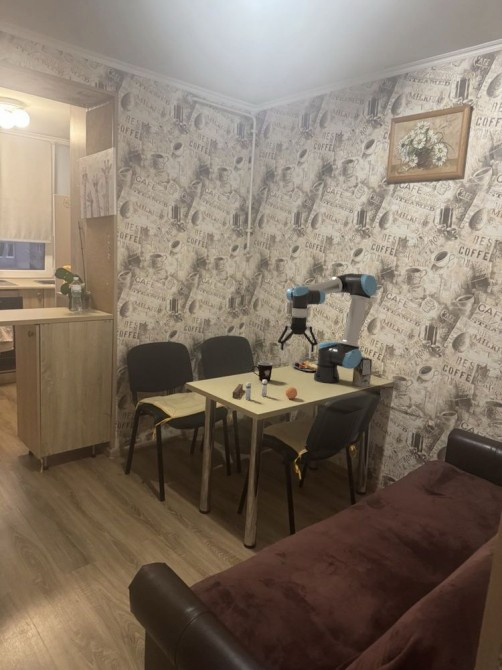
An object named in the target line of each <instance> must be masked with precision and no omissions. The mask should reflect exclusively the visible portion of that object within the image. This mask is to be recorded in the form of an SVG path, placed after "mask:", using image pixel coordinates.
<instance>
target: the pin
mask: <svg viewBox="0 0 502 670" xmlns="http://www.w3.org/2000/svg"><path fill="white" fill-rule="evenodd" d="M261 383H262V384H261V397H265V398H267V394H268V393H267V391H268V382H267V380H262V381H261Z"/></svg>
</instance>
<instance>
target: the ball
mask: <svg viewBox="0 0 502 670" xmlns="http://www.w3.org/2000/svg"><path fill="white" fill-rule="evenodd" d="M284 392H285V396H286V397H287V398H288V399H291V400H292V399H295V398H296V397H297V396H298V390H297V388H295V387H294V386H290V387H287V389H286V390H285V391H284Z"/></svg>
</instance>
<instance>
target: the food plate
mask: <svg viewBox="0 0 502 670" xmlns="http://www.w3.org/2000/svg"><path fill="white" fill-rule="evenodd" d="M317 366H318V361H310V360H309V359H306V360H304V361H295V362H293V363H291V367H294V368H296V369H298V370H299V371H305V372H315V371H316V369H317Z"/></svg>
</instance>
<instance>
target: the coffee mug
mask: <svg viewBox="0 0 502 670" xmlns="http://www.w3.org/2000/svg"><path fill="white" fill-rule="evenodd" d="M273 365H274V364H273V363H272V362H269V361H260V362H258V363H257V365H255V366H252V369H251V371H252V373H254V374H255V375H256V376H258V381H260V382H262V380H267V383H268V382H270V381H271V377H272V372H273ZM255 368H257V370H258V373H257V372H255V371H254V369H255Z"/></svg>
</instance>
